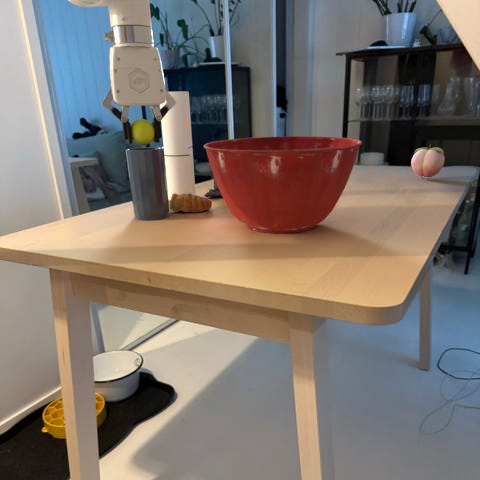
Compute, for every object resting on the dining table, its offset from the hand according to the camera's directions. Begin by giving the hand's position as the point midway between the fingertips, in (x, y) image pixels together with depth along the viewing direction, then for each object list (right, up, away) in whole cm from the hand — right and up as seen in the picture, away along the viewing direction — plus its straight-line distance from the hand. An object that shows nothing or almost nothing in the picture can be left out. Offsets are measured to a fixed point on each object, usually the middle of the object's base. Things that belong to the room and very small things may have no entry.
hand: (143, 141), depth 94 cm
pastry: (+8, -11, +12) cm, 18 cm away
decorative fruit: (+76, +6, +44) cm, 88 cm away
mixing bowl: (+28, -18, -4) cm, 34 cm away
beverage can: (+15, -4, +27) cm, 31 cm away
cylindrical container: (+5, -5, +26) cm, 27 cm away
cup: (+1, -14, +7) cm, 15 cm away
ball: (0, -1, 0) cm, 1 cm away
